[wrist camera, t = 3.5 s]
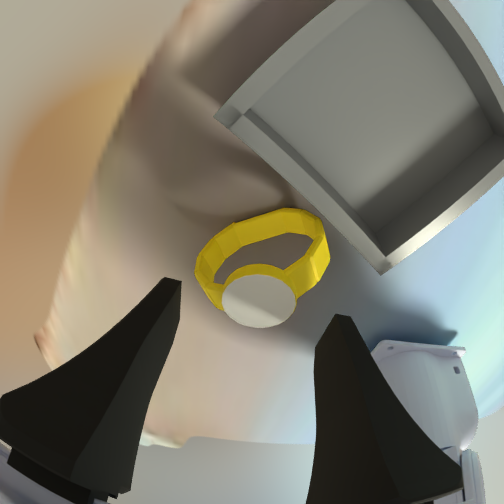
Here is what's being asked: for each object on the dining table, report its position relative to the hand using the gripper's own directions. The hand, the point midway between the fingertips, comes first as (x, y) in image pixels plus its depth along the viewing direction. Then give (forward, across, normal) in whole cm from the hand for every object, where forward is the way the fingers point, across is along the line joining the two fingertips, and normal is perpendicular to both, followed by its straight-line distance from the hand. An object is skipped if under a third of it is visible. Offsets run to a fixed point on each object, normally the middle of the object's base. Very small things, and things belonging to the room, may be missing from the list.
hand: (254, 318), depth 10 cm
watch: (+7, 0, 0) cm, 7 cm away
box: (+6, -4, -8) cm, 11 cm away
